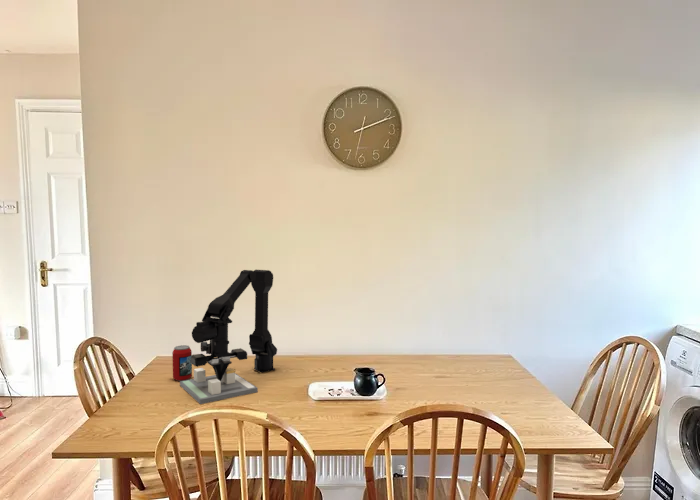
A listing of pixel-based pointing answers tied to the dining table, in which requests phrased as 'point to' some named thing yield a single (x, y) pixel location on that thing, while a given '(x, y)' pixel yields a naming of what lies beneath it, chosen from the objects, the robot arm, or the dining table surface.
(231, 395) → the panel
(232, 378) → the block
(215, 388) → the block
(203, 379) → the block
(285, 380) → the dining table surface
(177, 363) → the beverage can
